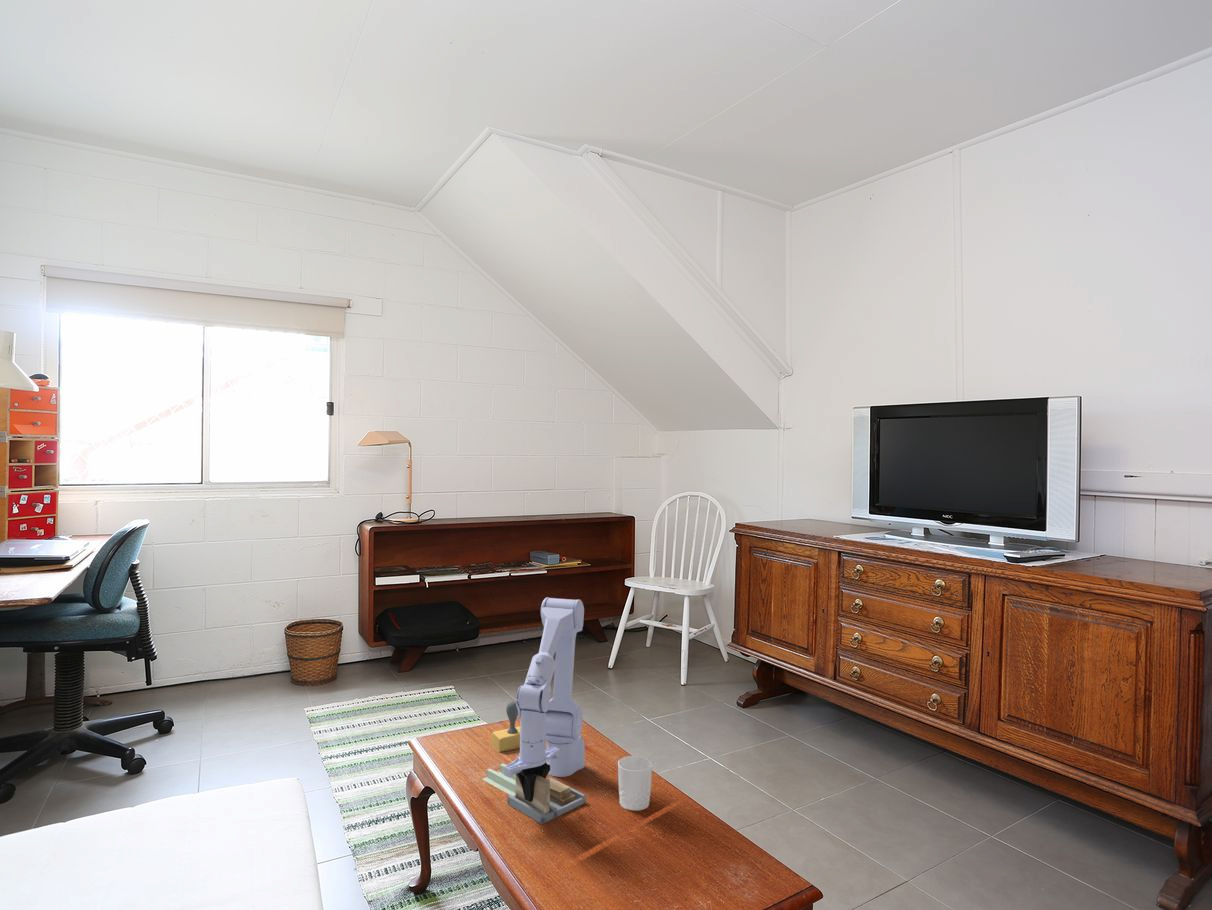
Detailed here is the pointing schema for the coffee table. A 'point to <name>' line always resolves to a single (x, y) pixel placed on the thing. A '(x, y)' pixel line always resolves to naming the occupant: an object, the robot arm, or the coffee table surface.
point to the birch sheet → (536, 794)
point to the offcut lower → (563, 799)
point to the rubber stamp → (508, 732)
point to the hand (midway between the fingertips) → (532, 798)
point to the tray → (554, 808)
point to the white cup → (634, 782)
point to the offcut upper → (558, 789)
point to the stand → (501, 780)
